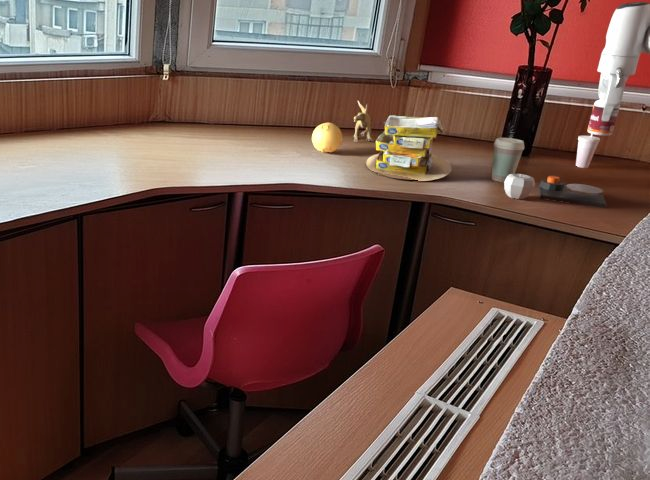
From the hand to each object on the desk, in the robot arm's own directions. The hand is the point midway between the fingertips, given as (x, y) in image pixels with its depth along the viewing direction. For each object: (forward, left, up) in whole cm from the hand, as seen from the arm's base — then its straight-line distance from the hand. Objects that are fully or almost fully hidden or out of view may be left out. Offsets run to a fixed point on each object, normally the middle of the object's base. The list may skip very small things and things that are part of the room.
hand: (603, 118), depth 196 cm
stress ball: (+77, -10, -22) cm, 80 cm away
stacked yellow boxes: (+49, +1, -22) cm, 53 cm away
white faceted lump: (+18, +15, -22) cm, 32 cm away
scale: (+4, +6, -21) cm, 23 cm away
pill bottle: (0, 0, -4) cm, 4 cm away
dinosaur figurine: (+70, -38, -22) cm, 82 cm away
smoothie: (-2, -38, -22) cm, 44 cm away
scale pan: (+1, +9, -18) cm, 20 cm away
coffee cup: (+22, -4, -22) cm, 31 cm away
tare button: (+9, +3, -19) cm, 21 cm away
